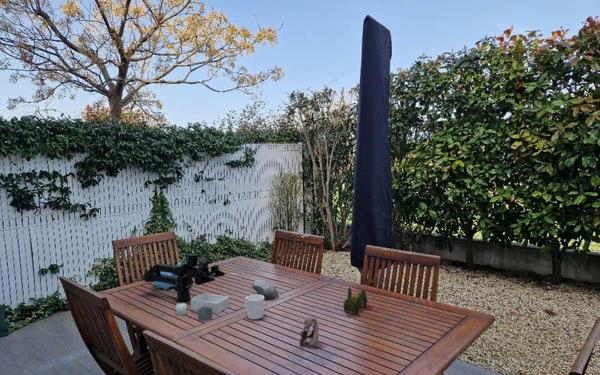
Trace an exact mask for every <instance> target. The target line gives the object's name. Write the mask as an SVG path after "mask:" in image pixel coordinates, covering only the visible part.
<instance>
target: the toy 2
mask: <svg viewBox="0 0 600 375" xmlns="http://www.w3.org/2000/svg"><path fill="white" fill-rule="evenodd" d="M346 298H347V299H345V300H344V302H343V311H344V313H345V312H346V313H345V314H348V313H353V312H354V315H356V314H357V315H358V312H359V308H360V307H361V306H362V307H363V306H364V307H363V308H365V307H366V308H367V305H368V301H369V300H368V297H367V293H366V290H364V289H361V290H360V293H357V294H352V288H351V287H349V288H348V290H347V297H346Z"/></svg>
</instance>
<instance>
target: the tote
mask: <svg viewBox="0 0 600 375" xmlns="http://www.w3.org/2000/svg"><path fill="white" fill-rule="evenodd" d="M204 306H205V307H210V308H212V314H216V315H218V314H219V313H221V312H223V311H224V310H226V309H228V308H229V307H230V296H226V295H221V294H212V293H207V292H201V293H200V294H198V295H196V296H194V297H191V300H190V310H194V311H198V309H200V308H202V307H204Z"/></svg>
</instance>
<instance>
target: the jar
mask: <svg viewBox="0 0 600 375" xmlns="http://www.w3.org/2000/svg"><path fill="white" fill-rule="evenodd" d="M175 308H176V309H175V311H176V312H175V313H176V316H178V317H180V316H181V317H182V316H185V315H186V314H187V303H186V302H185V303H182V302H178V303H176V305H175Z"/></svg>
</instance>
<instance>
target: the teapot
mask: <svg viewBox="0 0 600 375" xmlns="http://www.w3.org/2000/svg"><path fill="white" fill-rule="evenodd" d="M182 263H183V262H182V261H180V262H177V265H182ZM177 265H176V266H177ZM160 274H164V275H169V276H175V277H178V276H176V275H174V274H173V273H168V272H161V273H160ZM152 283H153V285H154V286H155V288H156V289H160V288H163V289H162V290H163V291H167V290H169V288H170V287H172V288H175V287H176V285H173V284H168V283H163V282H158V281H155V282H152Z"/></svg>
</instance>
